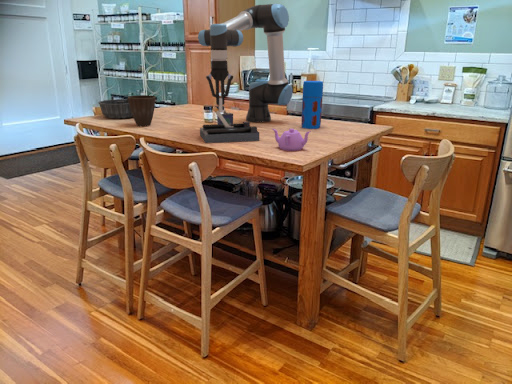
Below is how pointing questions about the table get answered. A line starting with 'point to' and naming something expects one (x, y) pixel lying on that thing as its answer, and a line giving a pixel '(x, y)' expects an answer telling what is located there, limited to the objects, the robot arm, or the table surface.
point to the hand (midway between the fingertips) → (220, 111)
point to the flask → (226, 118)
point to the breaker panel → (229, 133)
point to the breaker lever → (220, 117)
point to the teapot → (291, 140)
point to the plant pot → (142, 109)
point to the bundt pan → (116, 108)
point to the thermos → (312, 104)
